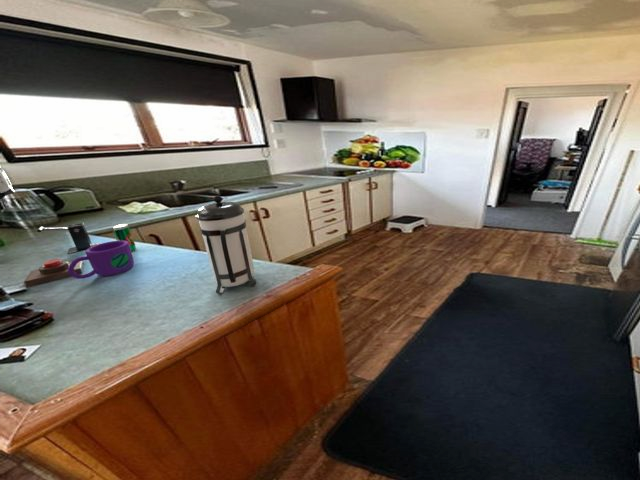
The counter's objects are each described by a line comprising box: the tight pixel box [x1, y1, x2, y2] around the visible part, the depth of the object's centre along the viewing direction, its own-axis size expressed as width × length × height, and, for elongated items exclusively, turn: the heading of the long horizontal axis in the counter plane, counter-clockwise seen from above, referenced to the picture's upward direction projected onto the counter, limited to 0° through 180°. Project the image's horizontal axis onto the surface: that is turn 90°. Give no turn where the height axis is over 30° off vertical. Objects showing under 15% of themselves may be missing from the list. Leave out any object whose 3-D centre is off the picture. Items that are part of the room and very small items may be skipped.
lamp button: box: [43, 258, 62, 268], centre depth 98 cm, size 4×4×2 cm
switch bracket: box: [67, 222, 102, 255], centre depth 119 cm, size 10×8×12 cm
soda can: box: [112, 223, 137, 253], centre depth 116 cm, size 5×5×12 cm
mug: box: [68, 240, 135, 280], centre depth 97 cm, size 17×11×10 cm, turn 160°
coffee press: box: [195, 195, 257, 295], centre depth 85 cm, size 17×16×30 cm
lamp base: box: [24, 260, 85, 288], centre depth 99 cm, size 13×11×4 cm
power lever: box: [36, 226, 69, 233], centre depth 115 cm, size 12×5×2 cm, turn 133°
